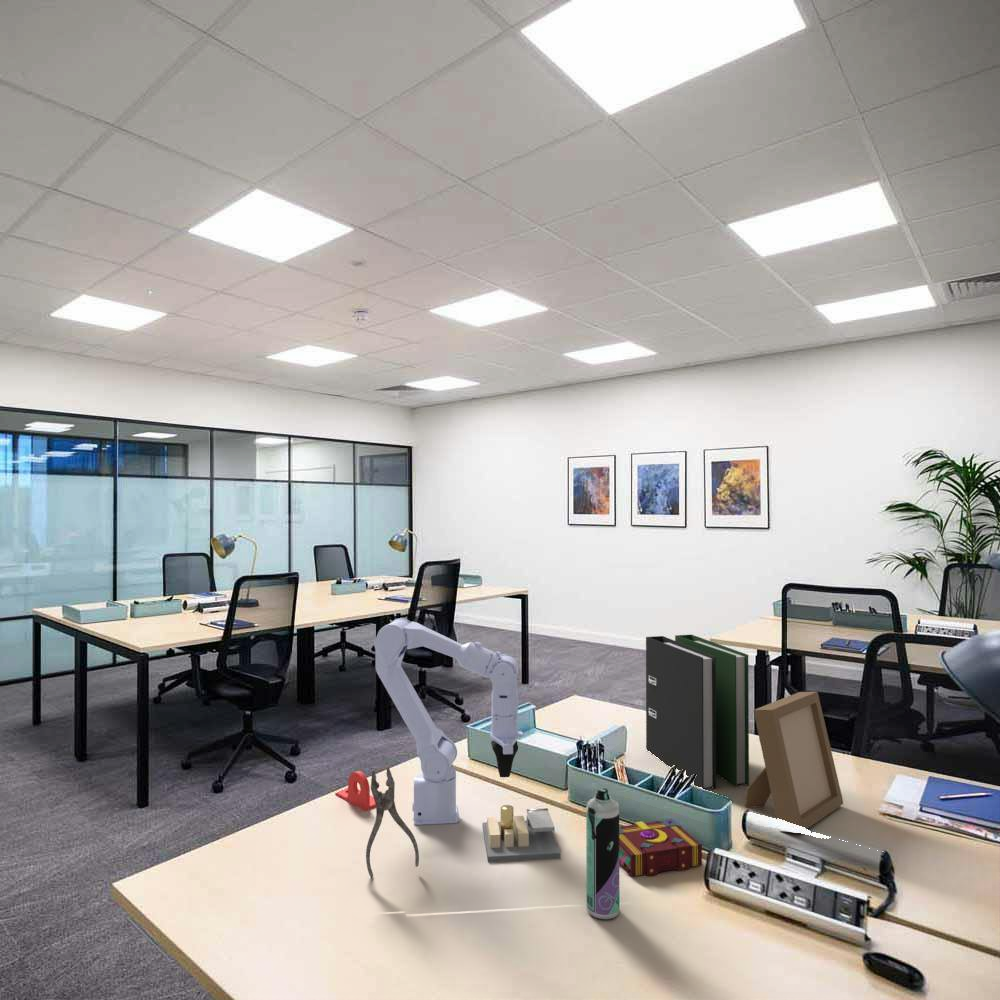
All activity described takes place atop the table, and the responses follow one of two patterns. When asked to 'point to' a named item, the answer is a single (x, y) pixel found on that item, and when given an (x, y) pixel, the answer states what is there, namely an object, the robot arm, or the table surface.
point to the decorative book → (657, 847)
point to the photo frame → (795, 761)
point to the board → (524, 853)
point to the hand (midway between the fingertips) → (504, 776)
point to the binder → (698, 708)
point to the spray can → (602, 856)
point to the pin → (506, 819)
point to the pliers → (383, 803)
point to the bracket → (358, 792)
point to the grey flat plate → (540, 820)
